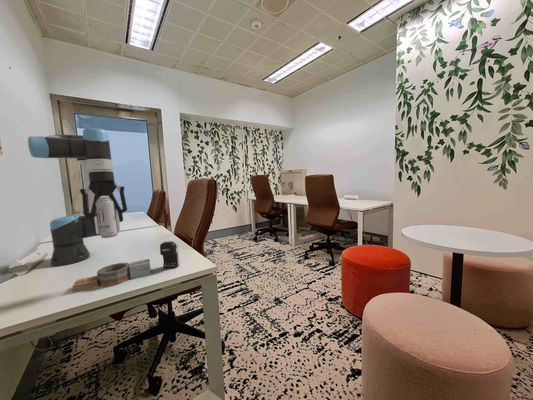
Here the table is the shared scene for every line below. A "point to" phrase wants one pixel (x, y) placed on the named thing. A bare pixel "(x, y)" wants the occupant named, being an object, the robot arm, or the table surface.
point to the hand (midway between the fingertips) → (109, 231)
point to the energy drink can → (106, 217)
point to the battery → (170, 254)
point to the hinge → (114, 275)
